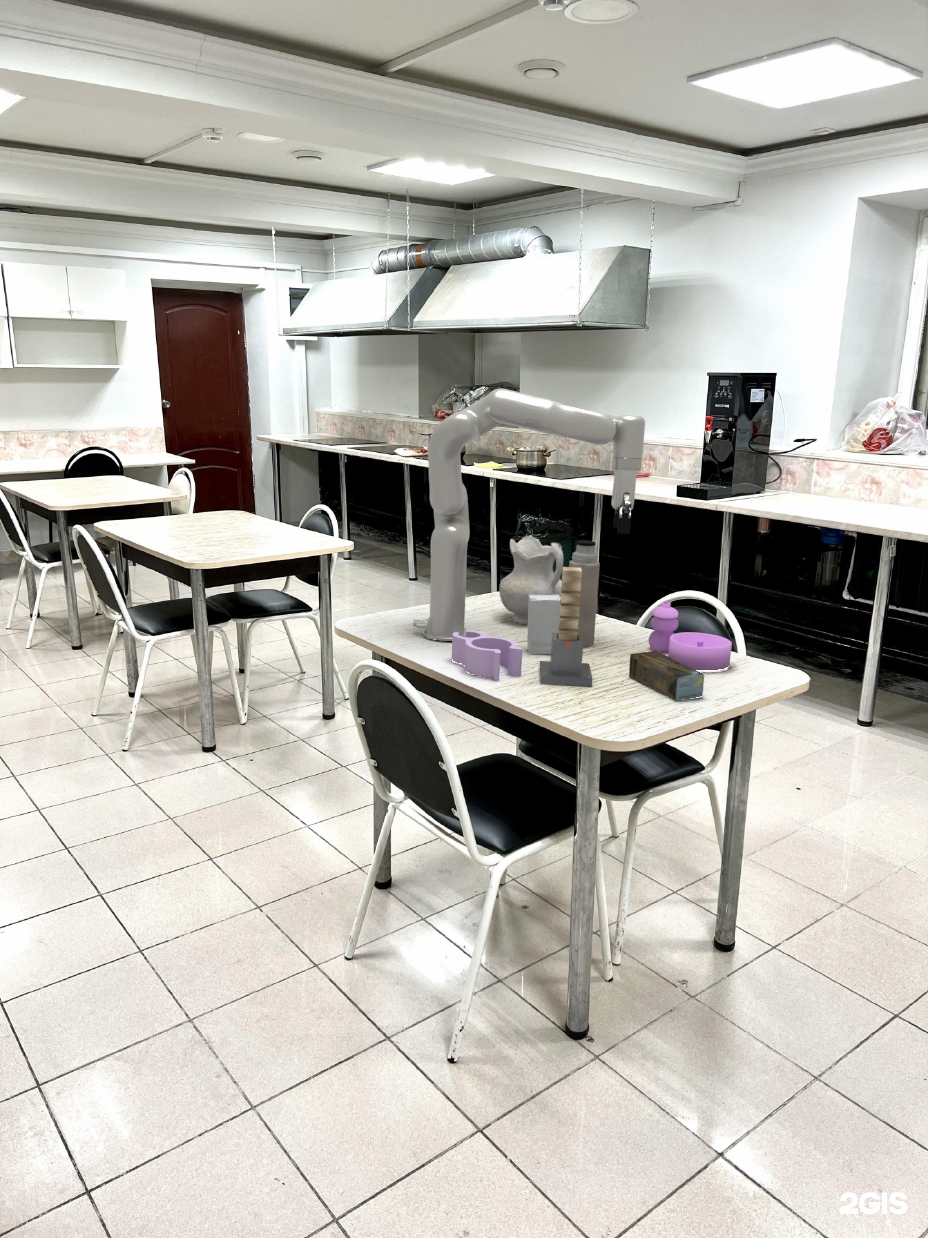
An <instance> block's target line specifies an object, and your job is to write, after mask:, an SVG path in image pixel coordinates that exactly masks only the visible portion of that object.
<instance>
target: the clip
mask: <svg viewBox="0 0 928 1238" xmlns="http://www.w3.org/2000/svg"><path fill="white" fill-rule="evenodd" d="M465 630H466V637H462V636H459V633H458V632H454V633H453V636H452V642H451V660H452V659H453V661H455V662H457V663H462V664H463V665H465V667H464V668H465V670H466V671H467V672H469V673H470V674H474V675H476V676H475V677H477V676H481V677H480V678H482V677H485V678H484V679H492V678H493V681H494V680H495V681H494V682H498V681H499V682H500V677H501V676H500V672H501V670H500V669H501V667H504V668H506V669H507V675H508V676H510V677H518V678H519V677H521V676H522V667H523V666H522V665H523V664H522V663H523V662H522V661H523V648H522V647H518V643H517V642H516V641H514V640H512V639H509V638H506V637H501V636H492V635H489V634H488V635H487V634H486V633H485V632H483V631H482V632H481V631H478V630H472V629H471V630H469V629H465ZM500 665H501V666H500ZM465 670H464V671H465ZM467 672H466V673H467ZM470 674H469V675H470Z"/></svg>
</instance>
